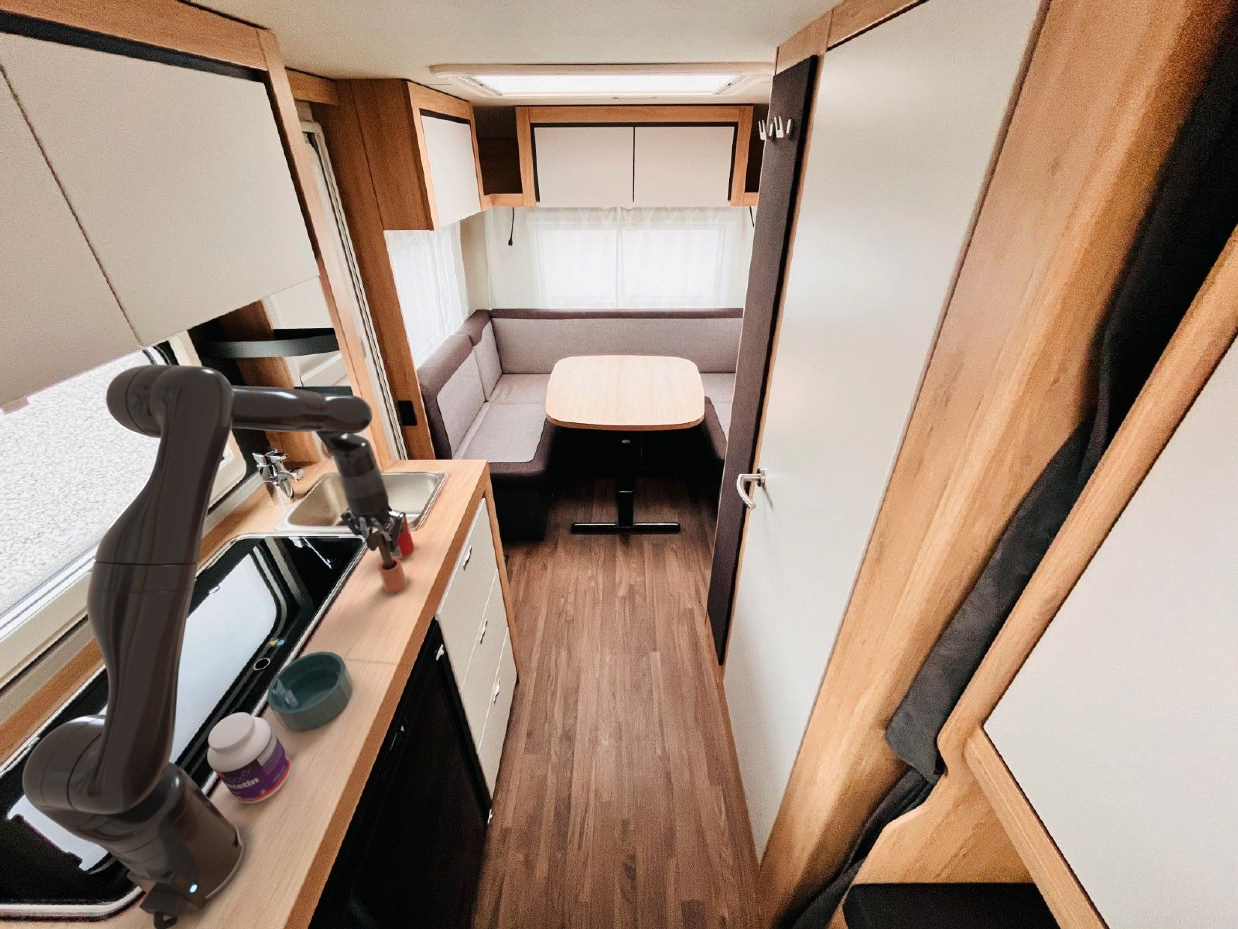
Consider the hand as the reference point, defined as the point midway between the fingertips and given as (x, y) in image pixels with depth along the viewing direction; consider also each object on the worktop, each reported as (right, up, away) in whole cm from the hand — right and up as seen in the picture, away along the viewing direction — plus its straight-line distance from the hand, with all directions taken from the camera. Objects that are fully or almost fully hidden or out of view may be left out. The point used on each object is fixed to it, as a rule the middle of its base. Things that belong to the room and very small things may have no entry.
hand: (384, 549), depth 113 cm
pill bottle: (-6, -33, -30) cm, 45 cm away
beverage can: (-3, -4, +16) cm, 17 cm away
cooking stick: (0, -9, +6) cm, 11 cm away
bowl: (-4, -25, -18) cm, 31 cm away
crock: (0, -10, +6) cm, 12 cm away
